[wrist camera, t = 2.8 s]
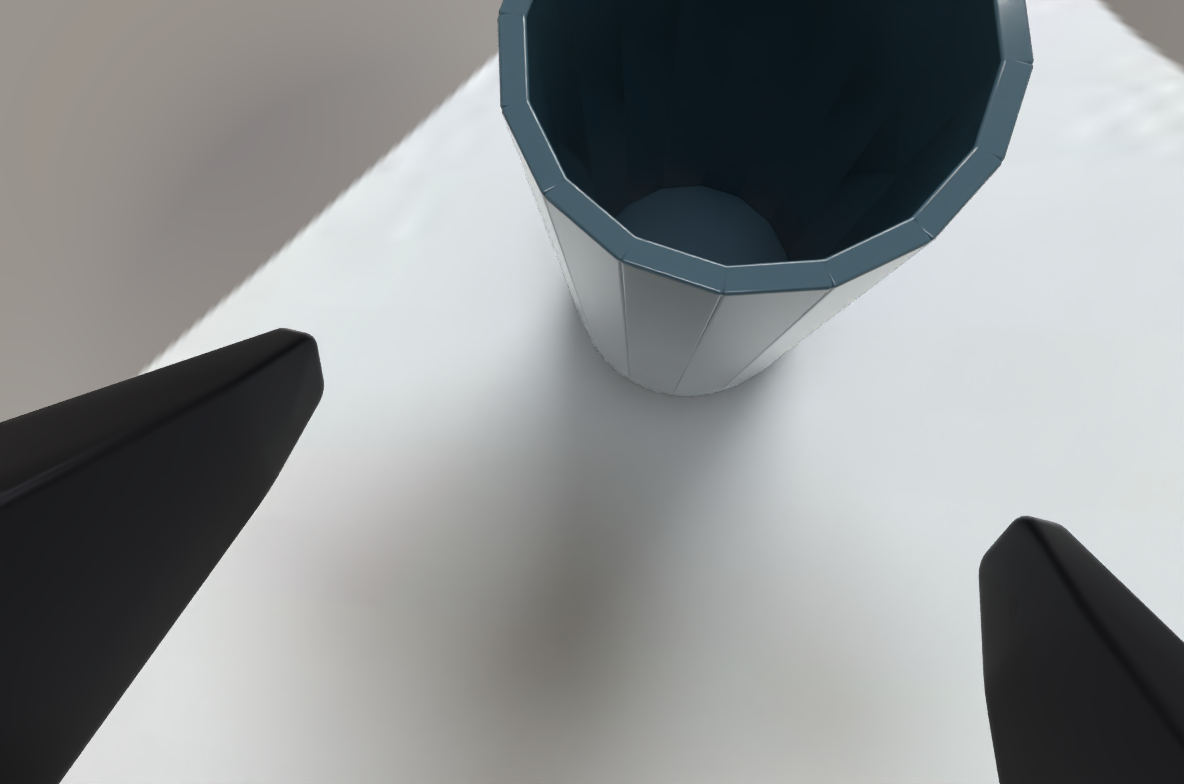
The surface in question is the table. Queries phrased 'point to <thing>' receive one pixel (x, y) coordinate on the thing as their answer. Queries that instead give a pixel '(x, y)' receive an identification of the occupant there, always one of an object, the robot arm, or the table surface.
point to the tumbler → (749, 159)
